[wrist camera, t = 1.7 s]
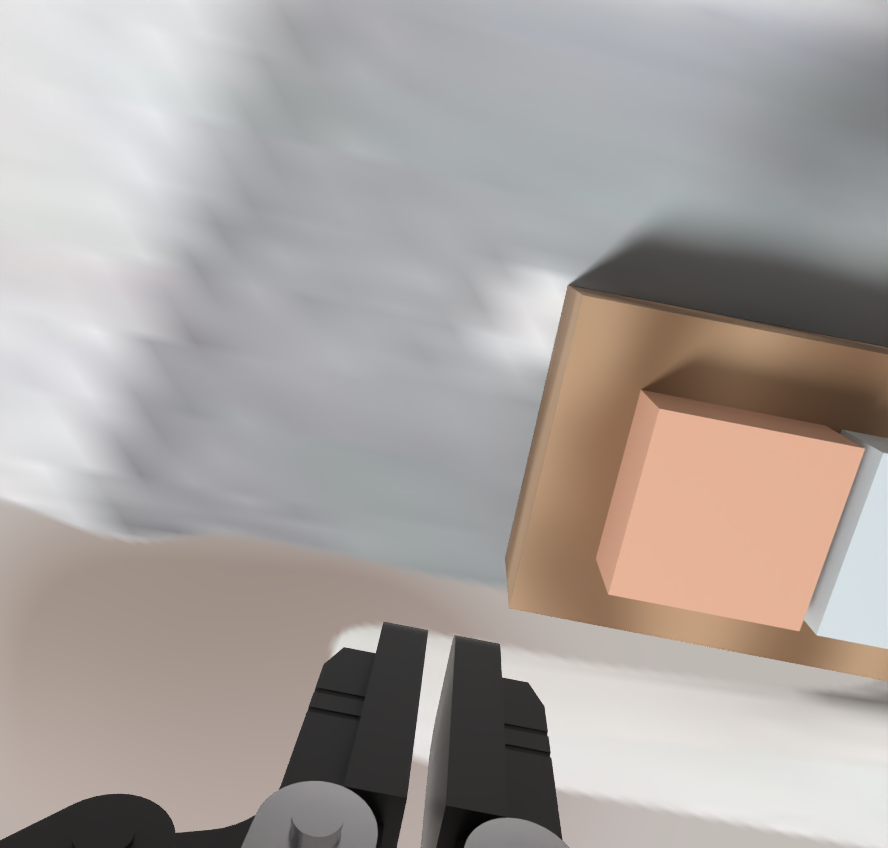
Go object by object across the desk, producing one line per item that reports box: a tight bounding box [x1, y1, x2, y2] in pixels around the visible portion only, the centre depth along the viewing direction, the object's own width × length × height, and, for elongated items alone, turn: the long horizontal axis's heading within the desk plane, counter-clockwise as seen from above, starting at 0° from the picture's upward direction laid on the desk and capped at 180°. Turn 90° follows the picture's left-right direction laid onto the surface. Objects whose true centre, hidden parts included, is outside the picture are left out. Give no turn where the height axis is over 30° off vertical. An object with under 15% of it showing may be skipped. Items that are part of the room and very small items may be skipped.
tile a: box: [596, 390, 865, 631], centre depth 23 cm, size 6×6×2 cm
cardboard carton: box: [505, 285, 888, 681], centre depth 26 cm, size 18×11×4 cm, turn 79°
